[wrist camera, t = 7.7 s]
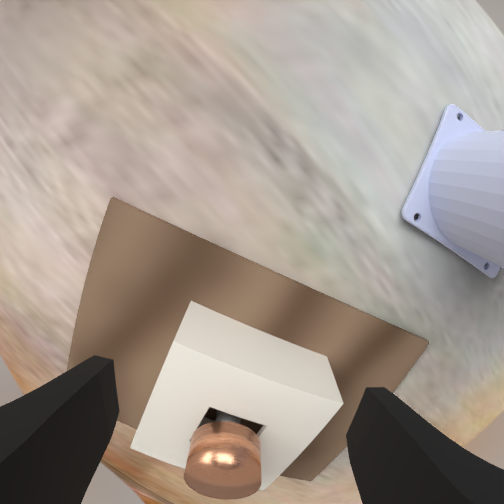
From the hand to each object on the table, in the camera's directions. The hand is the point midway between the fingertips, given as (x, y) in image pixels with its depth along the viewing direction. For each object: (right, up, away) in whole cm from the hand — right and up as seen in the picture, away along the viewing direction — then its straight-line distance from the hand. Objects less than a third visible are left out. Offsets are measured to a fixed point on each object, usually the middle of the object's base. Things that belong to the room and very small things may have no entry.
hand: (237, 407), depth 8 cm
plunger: (-1, -4, +11) cm, 12 cm away
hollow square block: (-1, -4, +12) cm, 13 cm away
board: (-1, -4, +12) cm, 13 cm away
